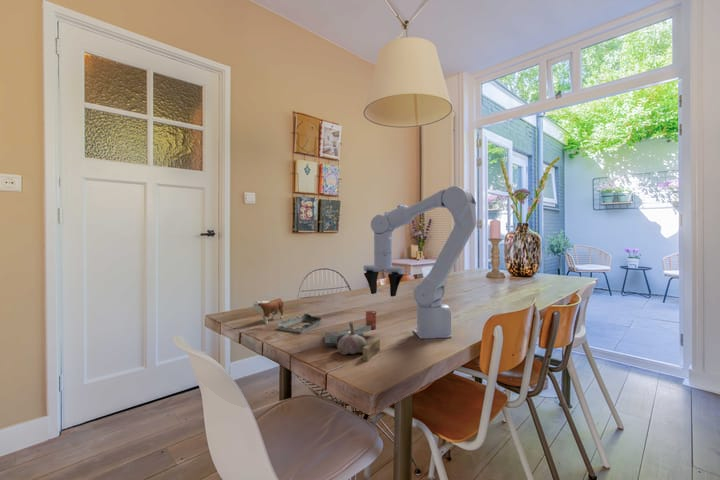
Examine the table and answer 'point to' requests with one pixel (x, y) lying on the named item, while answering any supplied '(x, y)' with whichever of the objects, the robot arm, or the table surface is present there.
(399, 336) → the table surface
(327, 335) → the base
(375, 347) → the bar
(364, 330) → the lever
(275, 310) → the bull figurine
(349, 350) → the garlic bulb
